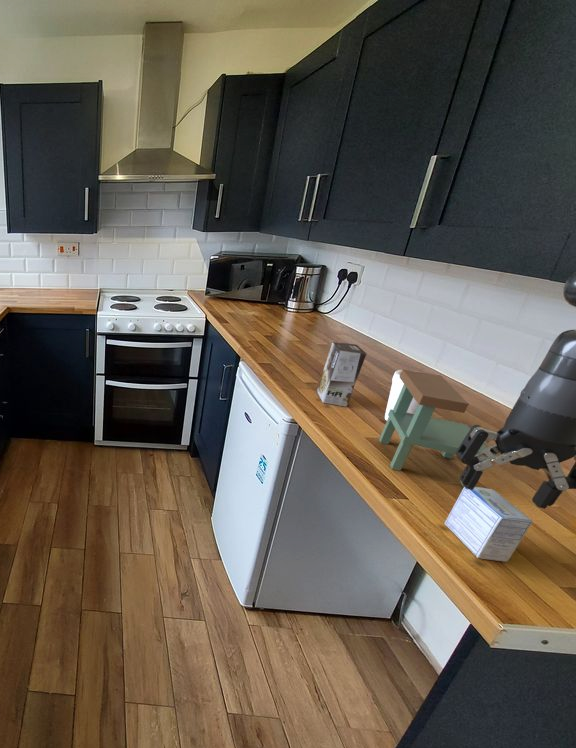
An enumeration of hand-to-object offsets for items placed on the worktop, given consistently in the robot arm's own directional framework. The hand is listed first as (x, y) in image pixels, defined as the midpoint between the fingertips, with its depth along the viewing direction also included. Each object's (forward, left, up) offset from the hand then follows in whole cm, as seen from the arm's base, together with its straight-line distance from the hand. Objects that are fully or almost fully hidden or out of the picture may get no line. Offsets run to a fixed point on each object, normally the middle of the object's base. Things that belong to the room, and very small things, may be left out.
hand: (501, 495), depth 63 cm
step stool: (+1, -26, -10) cm, 28 cm away
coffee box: (+16, -54, -10) cm, 57 cm away
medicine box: (0, 0, -10) cm, 10 cm away
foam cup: (+1, -47, -10) cm, 48 cm away
